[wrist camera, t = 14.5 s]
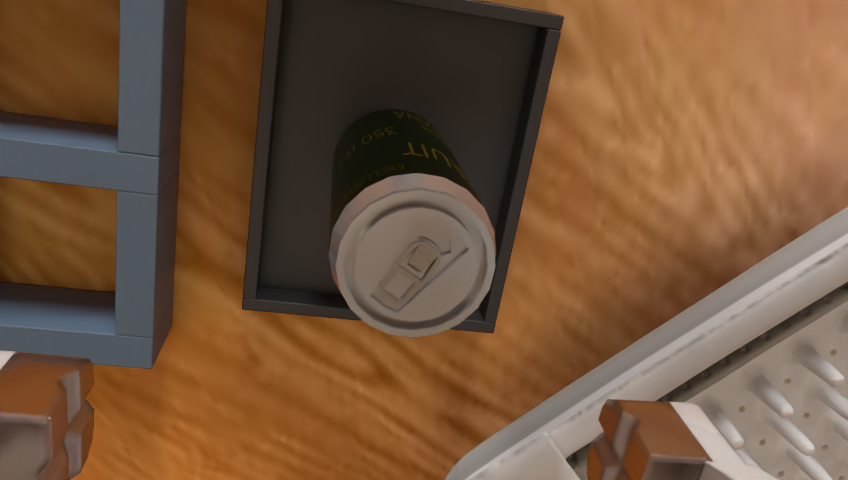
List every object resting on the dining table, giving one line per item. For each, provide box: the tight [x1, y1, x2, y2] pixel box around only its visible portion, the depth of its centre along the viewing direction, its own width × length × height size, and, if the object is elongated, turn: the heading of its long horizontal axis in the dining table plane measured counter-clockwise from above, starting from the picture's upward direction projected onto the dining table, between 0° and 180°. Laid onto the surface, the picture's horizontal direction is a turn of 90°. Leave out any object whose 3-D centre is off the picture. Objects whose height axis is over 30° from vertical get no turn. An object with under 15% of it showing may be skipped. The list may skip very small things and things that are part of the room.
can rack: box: [0, 0, 186, 369], centre depth 29 cm, size 18×10×4 cm, turn 171°
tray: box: [242, 0, 564, 333], centre depth 32 cm, size 15×12×2 cm
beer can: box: [329, 108, 496, 338], centre depth 27 cm, size 5×5×12 cm
